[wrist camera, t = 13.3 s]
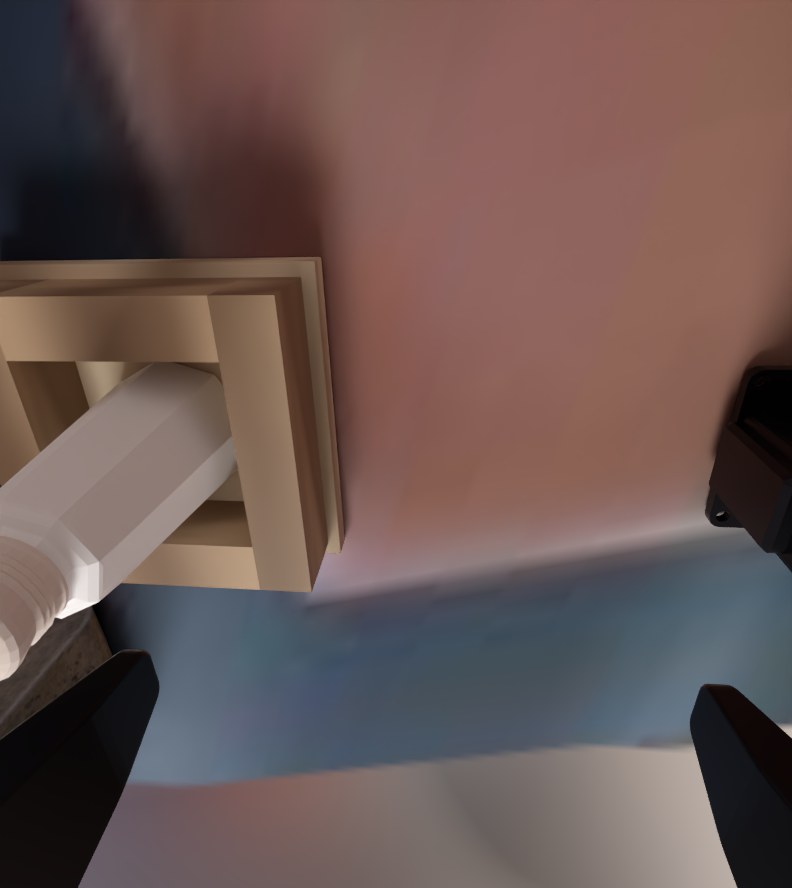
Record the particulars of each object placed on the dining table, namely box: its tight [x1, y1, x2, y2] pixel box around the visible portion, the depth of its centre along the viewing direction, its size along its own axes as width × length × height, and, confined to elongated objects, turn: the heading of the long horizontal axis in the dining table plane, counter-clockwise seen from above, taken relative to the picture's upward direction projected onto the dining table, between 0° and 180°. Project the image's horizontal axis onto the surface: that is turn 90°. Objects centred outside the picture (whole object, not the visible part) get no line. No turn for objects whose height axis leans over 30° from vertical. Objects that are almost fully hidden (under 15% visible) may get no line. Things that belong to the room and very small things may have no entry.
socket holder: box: [0, 257, 345, 592], centre depth 20 cm, size 12×12×4 cm
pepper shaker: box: [0, 362, 238, 681], centre depth 16 cm, size 5×5×11 cm
